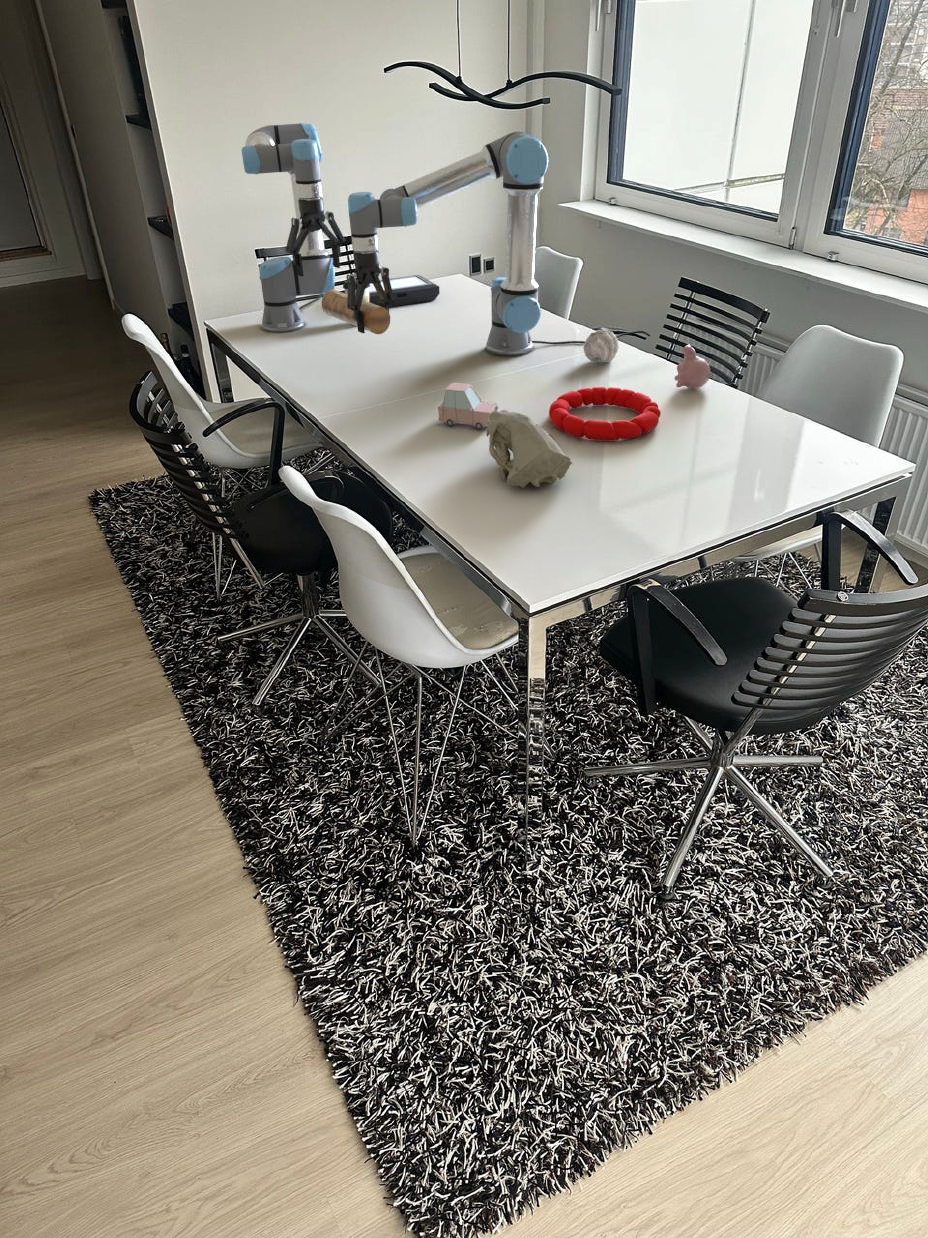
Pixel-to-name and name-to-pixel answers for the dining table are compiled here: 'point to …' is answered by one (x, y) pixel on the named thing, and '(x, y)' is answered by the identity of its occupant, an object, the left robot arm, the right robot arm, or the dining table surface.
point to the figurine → (692, 370)
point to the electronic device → (407, 291)
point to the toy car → (465, 406)
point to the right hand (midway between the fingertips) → (373, 328)
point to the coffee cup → (366, 292)
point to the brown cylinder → (337, 307)
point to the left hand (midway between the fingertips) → (318, 271)
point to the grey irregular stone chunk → (525, 450)
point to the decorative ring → (604, 428)
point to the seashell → (601, 346)
